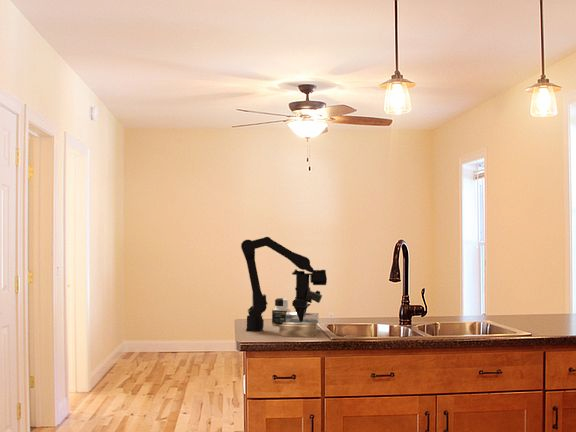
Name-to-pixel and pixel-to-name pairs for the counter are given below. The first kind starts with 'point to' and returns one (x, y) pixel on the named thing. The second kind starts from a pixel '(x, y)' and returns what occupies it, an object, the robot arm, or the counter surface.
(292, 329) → the beech v-block
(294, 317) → the steel axle
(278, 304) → the medicine bottle
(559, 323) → the counter surface
